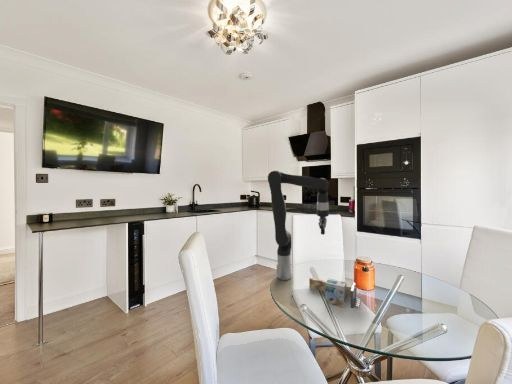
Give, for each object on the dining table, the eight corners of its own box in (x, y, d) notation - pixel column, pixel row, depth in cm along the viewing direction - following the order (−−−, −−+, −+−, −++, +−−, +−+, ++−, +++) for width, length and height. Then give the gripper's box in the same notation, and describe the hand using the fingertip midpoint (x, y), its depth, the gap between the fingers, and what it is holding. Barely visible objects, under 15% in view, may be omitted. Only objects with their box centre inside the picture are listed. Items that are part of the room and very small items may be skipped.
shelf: (303, 297, 147) (303, 288, 146) (310, 286, 159) (310, 277, 158) (353, 309, 133) (353, 299, 132) (356, 296, 145) (356, 287, 145)
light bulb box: (325, 300, 143) (325, 282, 142) (328, 294, 149) (328, 277, 148) (344, 305, 138) (344, 287, 137) (346, 299, 144) (346, 281, 142)
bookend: (350, 307, 135) (350, 290, 134) (353, 298, 144) (353, 282, 143) (358, 309, 133) (358, 292, 132) (360, 300, 142) (360, 283, 141)
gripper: (319, 206, 169) (319, 230, 171) (314, 210, 158) (314, 236, 160) (330, 207, 165) (330, 232, 168) (326, 211, 154) (326, 237, 156)
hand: (322, 234), depth 164 cm, fingers closed
